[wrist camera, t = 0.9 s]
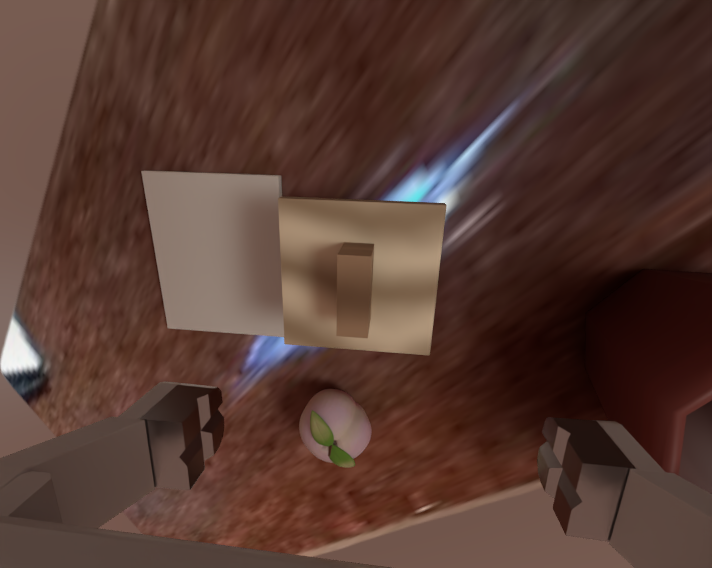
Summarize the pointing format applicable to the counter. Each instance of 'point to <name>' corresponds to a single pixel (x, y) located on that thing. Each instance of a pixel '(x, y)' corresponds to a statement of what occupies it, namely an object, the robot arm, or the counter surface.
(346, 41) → the counter surface
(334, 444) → the decorative fruit
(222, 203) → the rubber mat
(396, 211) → the birch lid
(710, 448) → the bucket
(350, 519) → the counter surface
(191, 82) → the counter surface
